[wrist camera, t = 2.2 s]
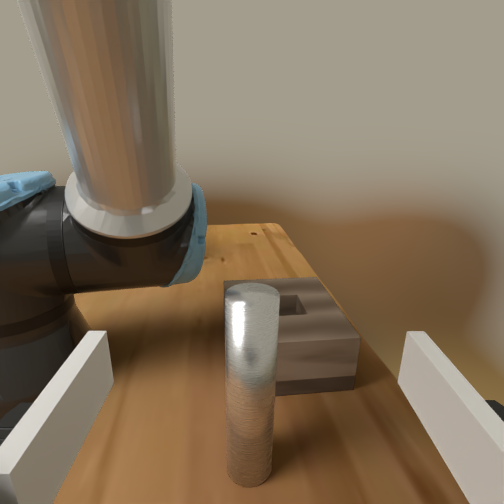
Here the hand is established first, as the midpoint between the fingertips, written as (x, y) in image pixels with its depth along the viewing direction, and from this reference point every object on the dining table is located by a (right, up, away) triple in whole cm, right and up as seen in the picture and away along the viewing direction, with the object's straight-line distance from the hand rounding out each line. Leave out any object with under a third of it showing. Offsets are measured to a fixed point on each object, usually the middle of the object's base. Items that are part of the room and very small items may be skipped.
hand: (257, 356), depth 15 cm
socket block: (+3, -9, +31) cm, 33 cm away
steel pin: (-1, -14, +16) cm, 21 cm away
